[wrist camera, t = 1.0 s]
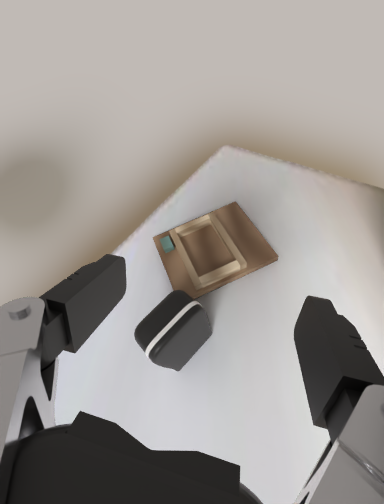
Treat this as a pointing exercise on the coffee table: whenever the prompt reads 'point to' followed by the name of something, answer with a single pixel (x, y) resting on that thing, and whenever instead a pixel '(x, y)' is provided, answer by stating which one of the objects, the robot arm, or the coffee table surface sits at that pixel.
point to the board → (213, 251)
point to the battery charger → (173, 330)
